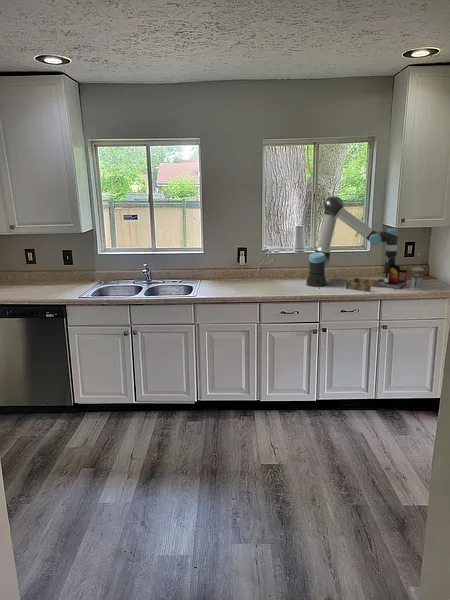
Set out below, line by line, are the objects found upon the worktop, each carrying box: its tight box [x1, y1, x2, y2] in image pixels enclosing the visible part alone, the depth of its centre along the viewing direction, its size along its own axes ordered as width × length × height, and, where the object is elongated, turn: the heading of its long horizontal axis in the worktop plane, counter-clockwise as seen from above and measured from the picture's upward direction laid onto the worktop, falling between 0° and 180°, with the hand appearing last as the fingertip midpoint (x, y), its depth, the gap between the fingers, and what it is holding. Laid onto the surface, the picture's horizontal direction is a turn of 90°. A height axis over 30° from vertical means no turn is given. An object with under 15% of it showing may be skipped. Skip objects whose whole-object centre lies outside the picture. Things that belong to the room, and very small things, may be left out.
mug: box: [385, 264, 408, 284], centre depth 311 cm, size 10×14×12 cm
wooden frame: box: [345, 277, 379, 293], centre depth 308 cm, size 17×16×5 cm
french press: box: [408, 252, 425, 291], centre depth 299 cm, size 10×12×25 cm
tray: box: [377, 278, 407, 290], centre depth 314 cm, size 20×16×2 cm
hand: (388, 280), depth 314 cm, fingers closed on mug, 10 cm apart
